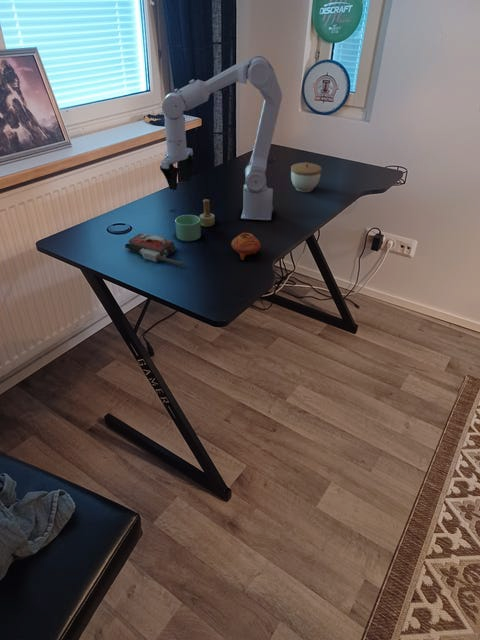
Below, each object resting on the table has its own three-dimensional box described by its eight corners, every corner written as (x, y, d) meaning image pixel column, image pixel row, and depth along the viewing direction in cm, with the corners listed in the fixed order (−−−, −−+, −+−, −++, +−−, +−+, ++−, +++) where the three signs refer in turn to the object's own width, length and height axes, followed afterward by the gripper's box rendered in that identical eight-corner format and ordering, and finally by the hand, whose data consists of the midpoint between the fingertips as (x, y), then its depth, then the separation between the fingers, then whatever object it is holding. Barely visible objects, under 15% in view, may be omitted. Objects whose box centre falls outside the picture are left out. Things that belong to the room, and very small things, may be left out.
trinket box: (315, 196, 160) (318, 169, 154) (286, 192, 163) (287, 165, 157) (322, 185, 168) (325, 159, 162) (293, 182, 171) (295, 156, 165)
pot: (223, 255, 124) (226, 231, 121) (243, 252, 130) (246, 228, 127) (245, 264, 120) (249, 239, 117) (264, 260, 125) (268, 236, 122)
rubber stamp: (215, 220, 143) (215, 197, 139) (213, 226, 139) (212, 203, 135) (201, 219, 143) (200, 196, 139) (198, 226, 140) (197, 202, 135)
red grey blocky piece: (120, 253, 126) (181, 270, 118) (117, 239, 123) (179, 255, 116) (139, 240, 132) (198, 256, 125) (137, 226, 129) (198, 241, 122)
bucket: (202, 230, 137) (202, 215, 134) (198, 241, 131) (197, 225, 128) (179, 229, 138) (178, 214, 135) (174, 240, 132) (172, 224, 129)
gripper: (177, 131, 139) (180, 175, 147) (150, 144, 129) (155, 190, 137) (197, 134, 137) (199, 179, 145) (171, 147, 126) (175, 194, 134)
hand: (179, 185), depth 141 cm, fingers open, 7 cm apart
